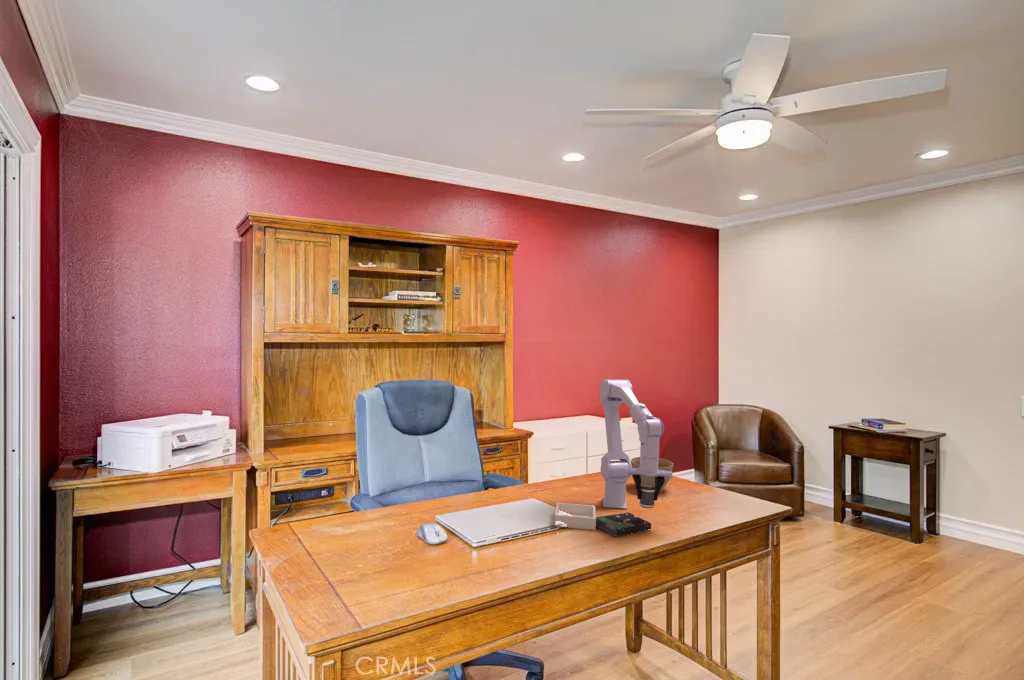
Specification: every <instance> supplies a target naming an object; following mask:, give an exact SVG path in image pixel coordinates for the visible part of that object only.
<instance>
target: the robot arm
mask: <svg viewBox="0 0 1024 680" xmlns="http://www.w3.org/2000/svg"><path fill="white" fill-rule="evenodd" d="M599 397H600V403H601V404H603V414H604V423H605V434H606V445H607V447H606V448H607V452H606V453H605V454H604V455H603V456H602V457H601V458H600V460H601V463H600V475H601V477H602V478H603V479H604V480H605V483H604V497H602V504H603V505H602V506H603V507H604V508H610V509H623V510H624V509H626V510H627V509H628V506H627V501H626V495H627V494H626V493H627V492H626V491H627V482H628V481H629V478H631V477H632V480H633V482H634V485H635V488H636V495H637V500H640V498H641V493H640V491H641V490H640V489H641V477H640V476H647V477H655V497H654V502H656V501H658V497H659V494H660V493H661V492H660V489H661V487H662V486H663V484H664V482H665V479H664V478H669V480H673V471H672V472H671V471H664V470H658V458H659V456H660V439H661V437H662V436H663V435H664V432H665V425H664V423H663V421H662V419H661V418H657V417H656V416H655V417H654V415H653V414H652V413H651V412H650V410H649V409H648V407H647V406H646V404H645V403H641V402H640V403H639V401H638V399H637V396H635V393H634V392H633V385H632V383H631V381H630V380H629V379H603V380H602V381H601V383H600V386H599ZM623 403H624V404H625V405H626V407H628V408H629V415H630V417H632V420H633V421H634V422H635V424H636V425H637V432H638V435H639V436H638V440H639V442H640V447H639V448H640V452H639V457H640V467H639V468H632V466H631V459H630V456H629V455H628V454H626V453H625V452H624V451H623V442H622V441H623V440H622V431H621V423H620V422H621V419H620V410H619V407H620V405H622V404H623Z"/></svg>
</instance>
